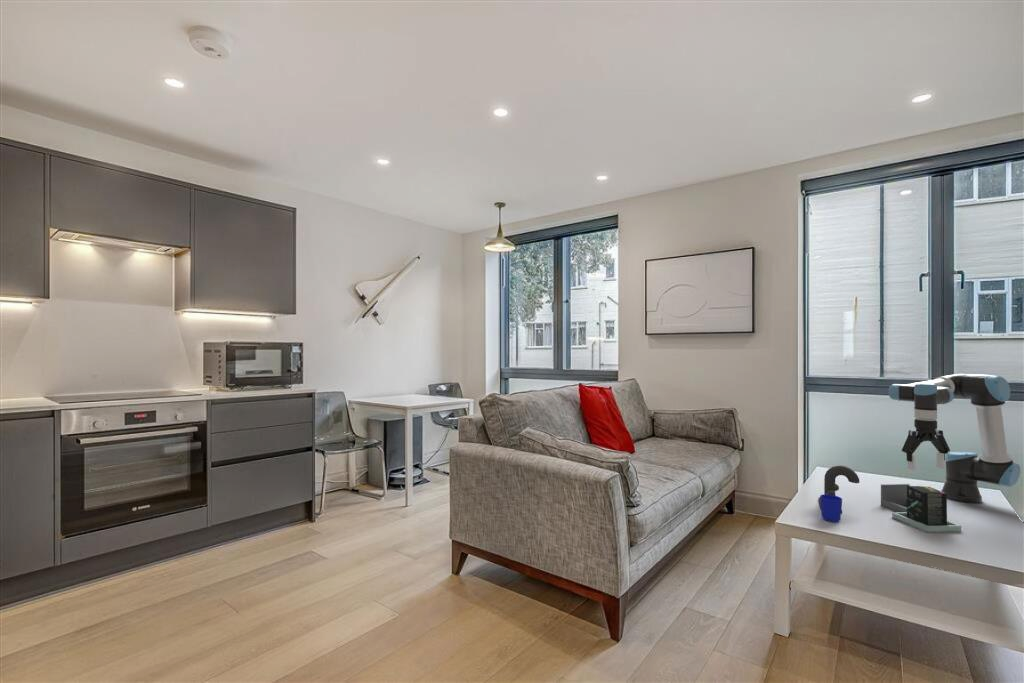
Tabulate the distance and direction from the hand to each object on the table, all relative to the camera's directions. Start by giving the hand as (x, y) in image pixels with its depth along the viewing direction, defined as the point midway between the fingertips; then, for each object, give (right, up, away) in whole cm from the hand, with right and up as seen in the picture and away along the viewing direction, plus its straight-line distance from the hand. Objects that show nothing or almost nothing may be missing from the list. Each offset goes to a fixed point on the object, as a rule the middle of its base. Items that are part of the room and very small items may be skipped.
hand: (925, 468), depth 209 cm
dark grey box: (0, -24, 0) cm, 24 cm away
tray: (0, -24, 0) cm, 24 cm away
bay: (+7, -24, +17) cm, 31 cm away
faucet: (-23, -24, +21) cm, 40 cm away
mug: (-37, -24, +7) cm, 45 cm away
